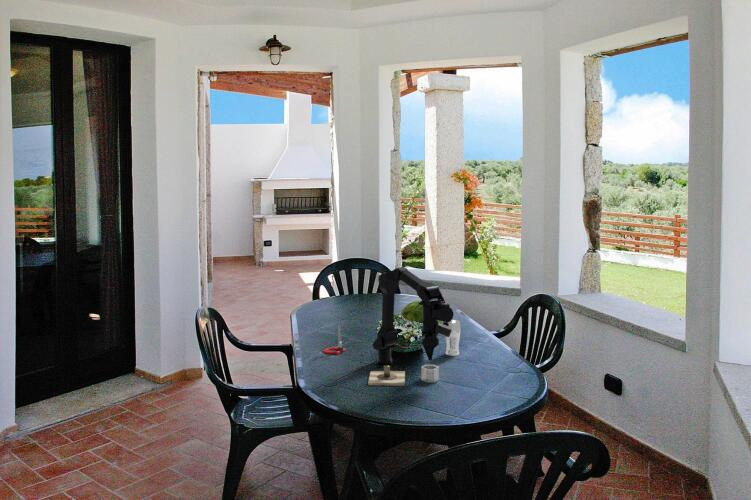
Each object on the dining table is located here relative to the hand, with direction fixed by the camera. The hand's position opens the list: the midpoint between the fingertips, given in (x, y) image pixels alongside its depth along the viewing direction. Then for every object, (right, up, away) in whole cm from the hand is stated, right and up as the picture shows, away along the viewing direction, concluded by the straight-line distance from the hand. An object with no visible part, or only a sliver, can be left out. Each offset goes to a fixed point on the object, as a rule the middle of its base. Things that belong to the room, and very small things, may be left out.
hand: (429, 356), depth 239 cm
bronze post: (-17, -10, +2) cm, 19 cm away
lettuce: (0, -1, +68) cm, 68 cm away
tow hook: (-41, -5, +40) cm, 57 cm away
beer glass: (+13, -5, +34) cm, 37 cm away
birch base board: (-17, -10, +2) cm, 19 cm away
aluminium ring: (0, -9, +1) cm, 9 cm away
